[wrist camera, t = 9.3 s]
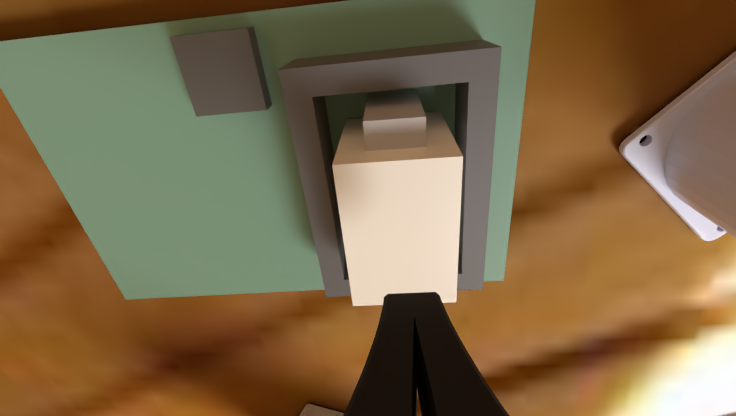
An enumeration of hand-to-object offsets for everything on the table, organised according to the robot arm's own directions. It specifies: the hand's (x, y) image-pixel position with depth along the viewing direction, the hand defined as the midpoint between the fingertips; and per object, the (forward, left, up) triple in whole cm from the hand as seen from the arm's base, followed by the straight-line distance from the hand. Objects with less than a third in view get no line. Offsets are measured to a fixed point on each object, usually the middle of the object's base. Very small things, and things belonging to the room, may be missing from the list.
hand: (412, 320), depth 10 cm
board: (+4, -4, -10) cm, 11 cm away
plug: (0, -1, -8) cm, 9 cm away
